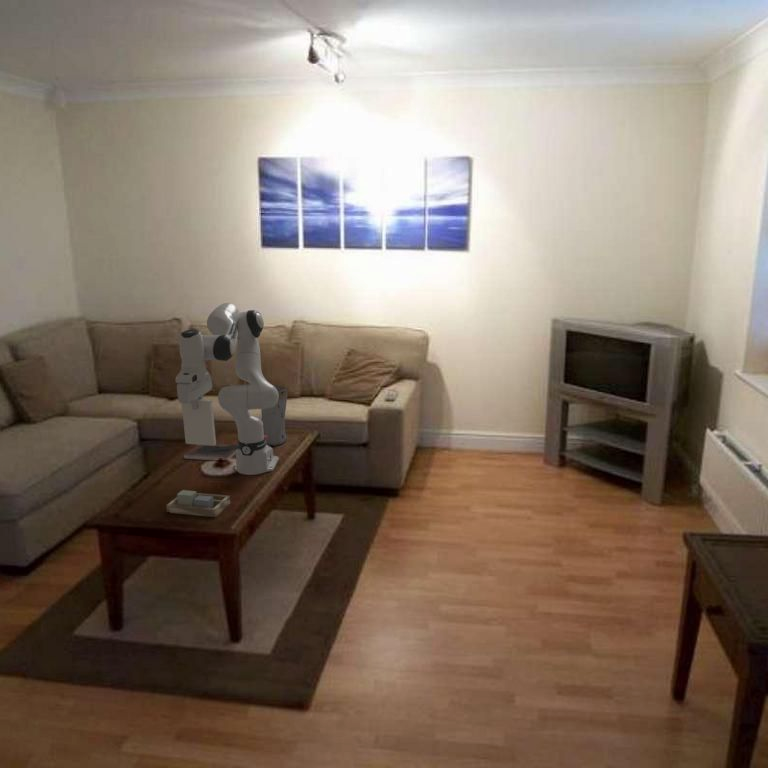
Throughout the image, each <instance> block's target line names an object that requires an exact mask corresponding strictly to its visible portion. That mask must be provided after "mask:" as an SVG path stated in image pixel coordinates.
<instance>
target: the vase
mask: <svg viewBox="0 0 768 768" xmlns="http://www.w3.org/2000/svg"><path fill="white" fill-rule="evenodd" d="M273 386H274V387H275V388H276V389H277V391H278V395H279V398H278V402H277V403H276V405H275V406H274V407H270V408H266V409H260V410H261V421H262V422H263V430H264V436H266V435H267V436H268V439H267V440H266V444H267V445H268V446H270V447H279V446H282V445H283V444H284V443H285V442H287V435H286V429H285V427H286V424H285V423H286V422H285V420H286V419H285V418H286V409H287V402H288V401H287V400H288V387H287V386H281V385H278V384H277V385H274V384H273Z"/></svg>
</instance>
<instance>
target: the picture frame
mask: <svg viewBox="0 0 768 768" xmlns="http://www.w3.org/2000/svg"><path fill="white" fill-rule="evenodd" d="M238 449H239V448H238V444H219V443H218V444H217V443H216V445H214V446H211V445H195V447H193V448H192V449H190V450H189V451H188V452H186V453H185V454H184V455H183V457H184V459H186V460H203V461H205V460H206V461H216V460H215V459H218V458H224V459H229V460H231V459H232V458H233V457H234V456H236V451H237V450H238Z"/></svg>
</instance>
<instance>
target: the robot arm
mask: <svg viewBox="0 0 768 768" xmlns="http://www.w3.org/2000/svg"><path fill="white" fill-rule="evenodd" d="M206 326H207V329H208V331H209V333H211V334H202V332H201V330H199V329H194V328H193V329H192V328H191V329H188V330H184V331H182V332H181V333H180V335H179V355H180V358H181V369H180V371H179V372H178V374H177V375H176V377H175V383H177V385H176V394H177V399H178V402H179V403H180V404H182V403H191V405H192V409H193V410H196V409H198V404H197V403H196V399H204V395H205V394H207V393H209V392H211V391H212V389H213V382H212V377H211V373H209V370H208V369H207V368H206V366H207V364H206V362H205V361H209V360H210V361H222V362H227V361H229V360H230V359H231V358H232V357H233V356H234V354H235V374H236V376H237V377H238V378H239V379H241V380H242V381H245V382H247V383H248V384H232V385H227V386H224V387H221V389H220V390H219V392H218V394H217V395H218V396H217V403H218V404H219V406H220V408H222V410H224V411H225V412H227V413H228V414H230V416H231V417H232V418H233V420H234V421H235V424H236V429H237V436H238V437H237V438H238V440H237V445H238V448H239V449H238V450H237V451H236V454H235V464H236V466H235V467H236V468H237V470H236V471H237V472H238V474H242V475H248V476H254V475H255V476H256V475H260V474H264V473H267V472H274V470H275V468H276V466H277V464H278V462H279V459H280V458H279V456H277V455H275V454H274V449H273V447H272V446H270V445H267V444H266V440H267V439H268V436H267V435H266V436H264V430H263V422H262V418H259V417H258V416H256V415H252V413H250V412H249V411H250V410H252V411H253V410H261V409H266V408H270V407H274V406H275V405H276V403H277V402H278V398H279V395H278V391H277V389H276V388H275V387H274V384H272V383H270V382H269V381H268V380H267V379H266V378H265V376H264V375H263V371H262V362H261V361H262V359H261V349H260V348H261V347H260V343H259V339H258V338H259V337H260V336H261V333H262V331H263V329H264V318H263V316H262V314H261V313H260V312H259V311H258V310H255V309H250V310H247V311H241V312H239V308H238V307H237V306H236V305H235V304H233V303H231V302H225V303H224V302H223V303H221V304H220V305H219V306H217V307H216V308H214V309H213V311H211V313H210V314H208V317H207V320H206ZM235 347H236V348H235Z"/></svg>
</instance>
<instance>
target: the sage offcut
mask: <svg viewBox="0 0 768 768" xmlns="http://www.w3.org/2000/svg"><path fill="white" fill-rule="evenodd" d="M196 493H197V490H196V491H195V490H185V489H184V490H183V489H182V490H180V491H179V492H177V494H176V497H177V500H178V505H184V506H194V499H195V498H196V497H197V494H196ZM194 507H195V506H194Z"/></svg>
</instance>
